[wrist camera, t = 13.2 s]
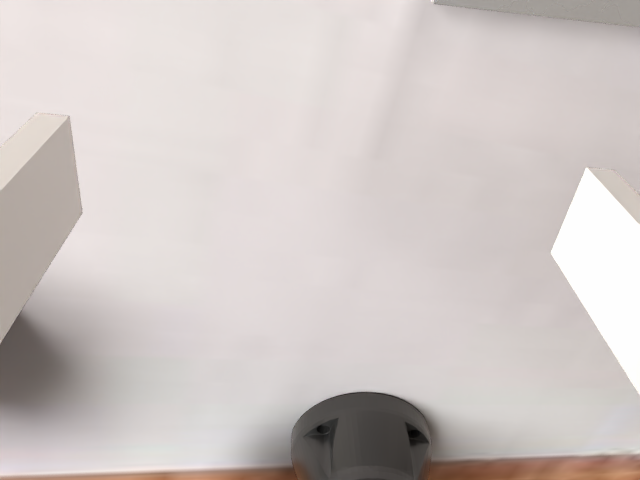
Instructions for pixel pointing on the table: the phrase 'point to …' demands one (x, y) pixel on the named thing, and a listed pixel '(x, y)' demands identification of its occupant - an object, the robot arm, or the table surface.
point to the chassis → (562, 9)
